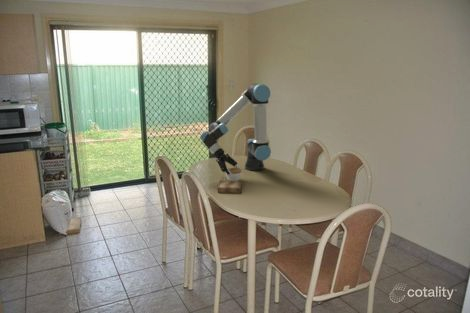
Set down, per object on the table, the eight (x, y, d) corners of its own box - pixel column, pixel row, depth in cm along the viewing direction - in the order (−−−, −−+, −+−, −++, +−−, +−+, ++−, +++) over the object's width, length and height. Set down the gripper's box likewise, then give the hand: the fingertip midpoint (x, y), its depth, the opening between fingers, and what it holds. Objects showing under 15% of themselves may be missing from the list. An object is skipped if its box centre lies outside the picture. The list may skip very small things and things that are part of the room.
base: (241, 185, 233) (241, 181, 232) (240, 192, 219) (240, 188, 219) (220, 185, 234) (220, 180, 233) (217, 192, 220) (217, 187, 220)
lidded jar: (243, 179, 246) (243, 166, 244) (238, 184, 236) (238, 170, 234) (228, 177, 250) (228, 165, 247) (223, 182, 240) (223, 169, 238)
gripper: (222, 150, 256) (240, 174, 253) (204, 158, 235) (225, 183, 232) (228, 144, 252) (247, 167, 249) (211, 151, 232) (232, 176, 229)
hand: (236, 175), depth 241 cm, fingers open, 11 cm apart
